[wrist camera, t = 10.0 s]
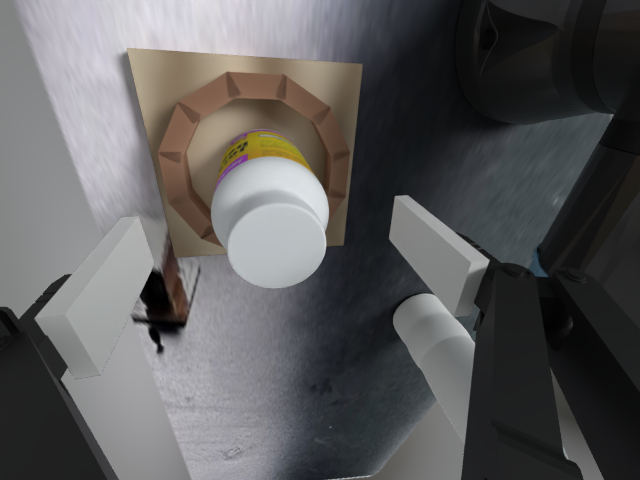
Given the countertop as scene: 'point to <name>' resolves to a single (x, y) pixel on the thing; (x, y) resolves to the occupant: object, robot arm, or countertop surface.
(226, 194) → the supplement bottle
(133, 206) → the countertop surface
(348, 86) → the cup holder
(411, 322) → the water bottle
